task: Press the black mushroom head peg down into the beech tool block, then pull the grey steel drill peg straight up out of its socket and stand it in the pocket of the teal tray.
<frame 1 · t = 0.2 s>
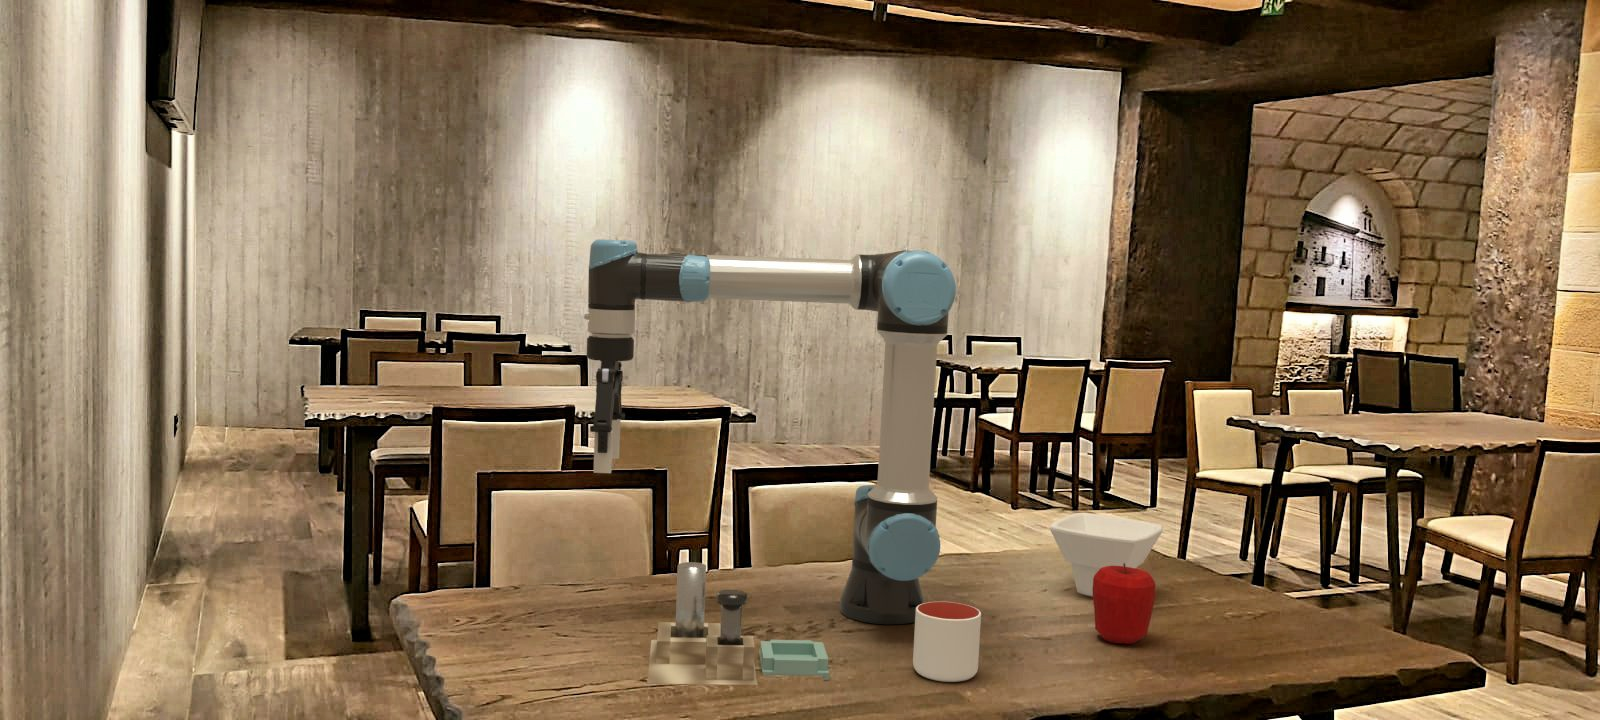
hand: (606, 465, 209), 28 cm above the table, fingers open, 13 cm apart
socket block: (698, 665, 197), on the table
cup: (944, 674, 198), on the table
bowl: (1102, 597, 247), on the table
apple: (1120, 641, 219), on the table
tray: (792, 668, 197), on the table
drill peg: (688, 653, 199), point 1 cm above the table, touching socket block
black mushroom head peg: (730, 624, 190), point 8 cm above the table, slide at 0.0 cm
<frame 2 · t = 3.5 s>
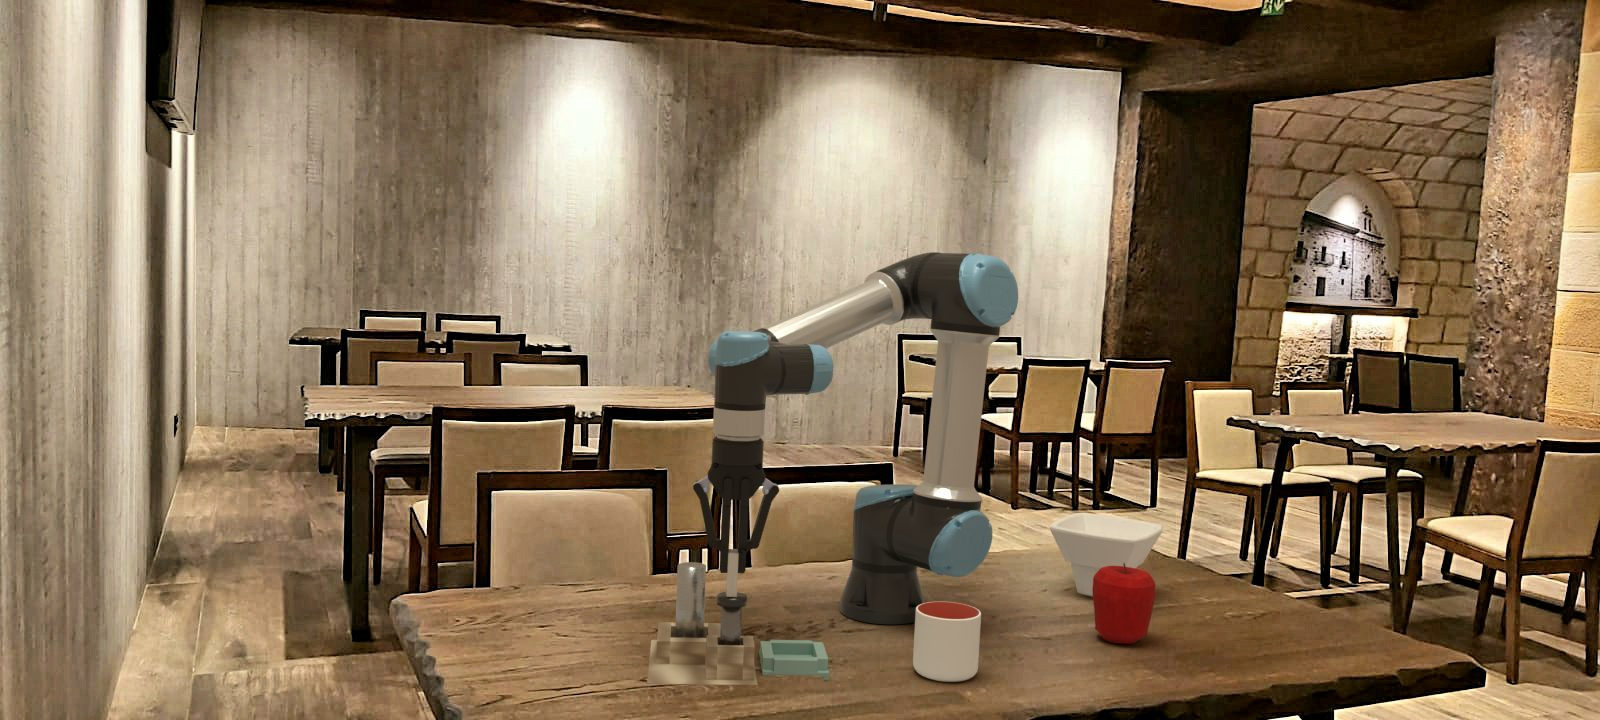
hand: (731, 594, 190), 13 cm above the table, fingers closed
black mushroom head peg: (730, 626, 190), point 8 cm above the table, slide at 0.3 cm, touching gripper
everything else where it was.
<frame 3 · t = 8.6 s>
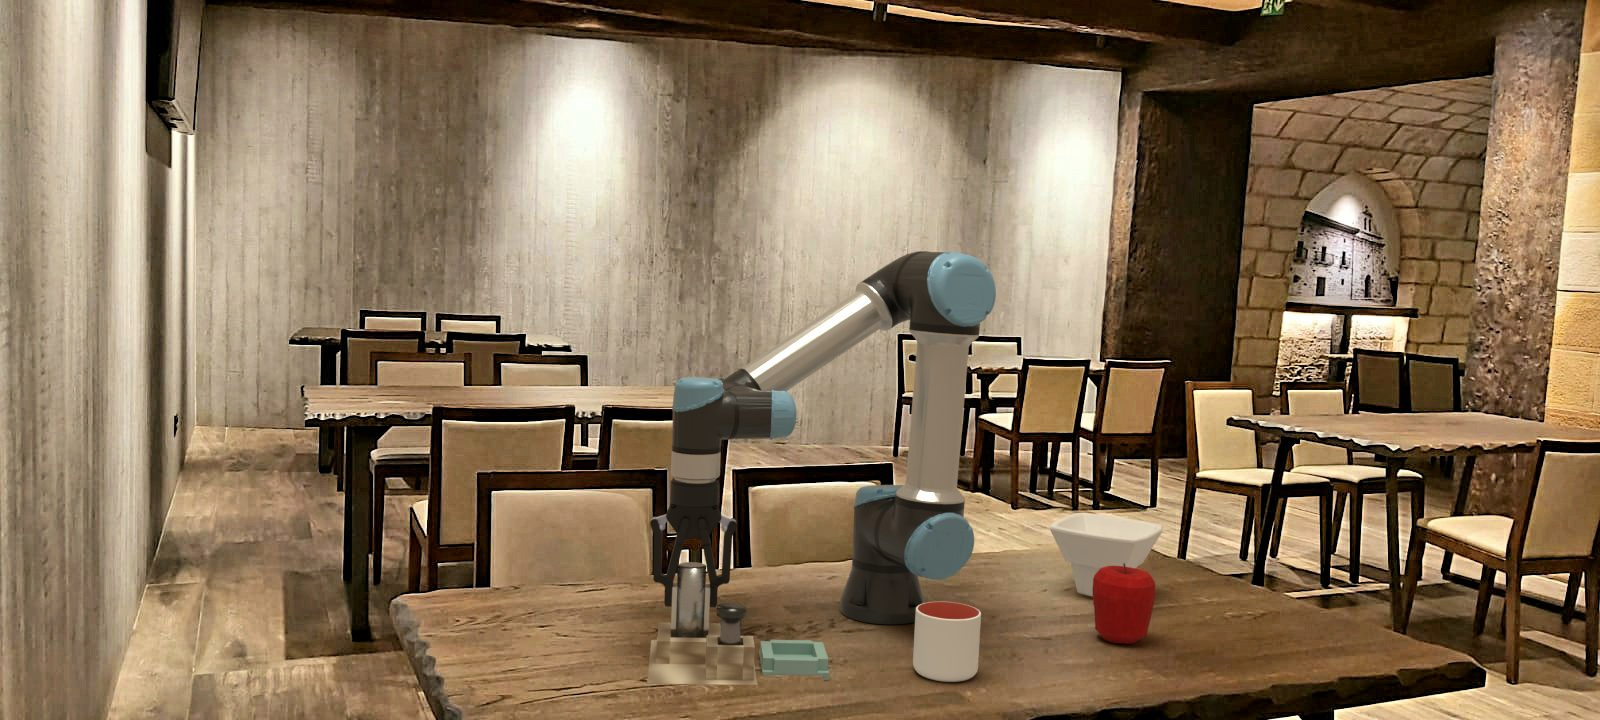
hand: (689, 626, 199), 5 cm above the table, fingers closed on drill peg, 4 cm apart
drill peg: (688, 653, 199), point 1 cm above the table, touching gripper, socket block
black mushroom head peg: (730, 637, 190), point 6 cm above the table, slide at 2.0 cm
everything else where it was.
when the fingers open (7 cm above the table, at t = 14.6 s): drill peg stays where it is, resting on tray.
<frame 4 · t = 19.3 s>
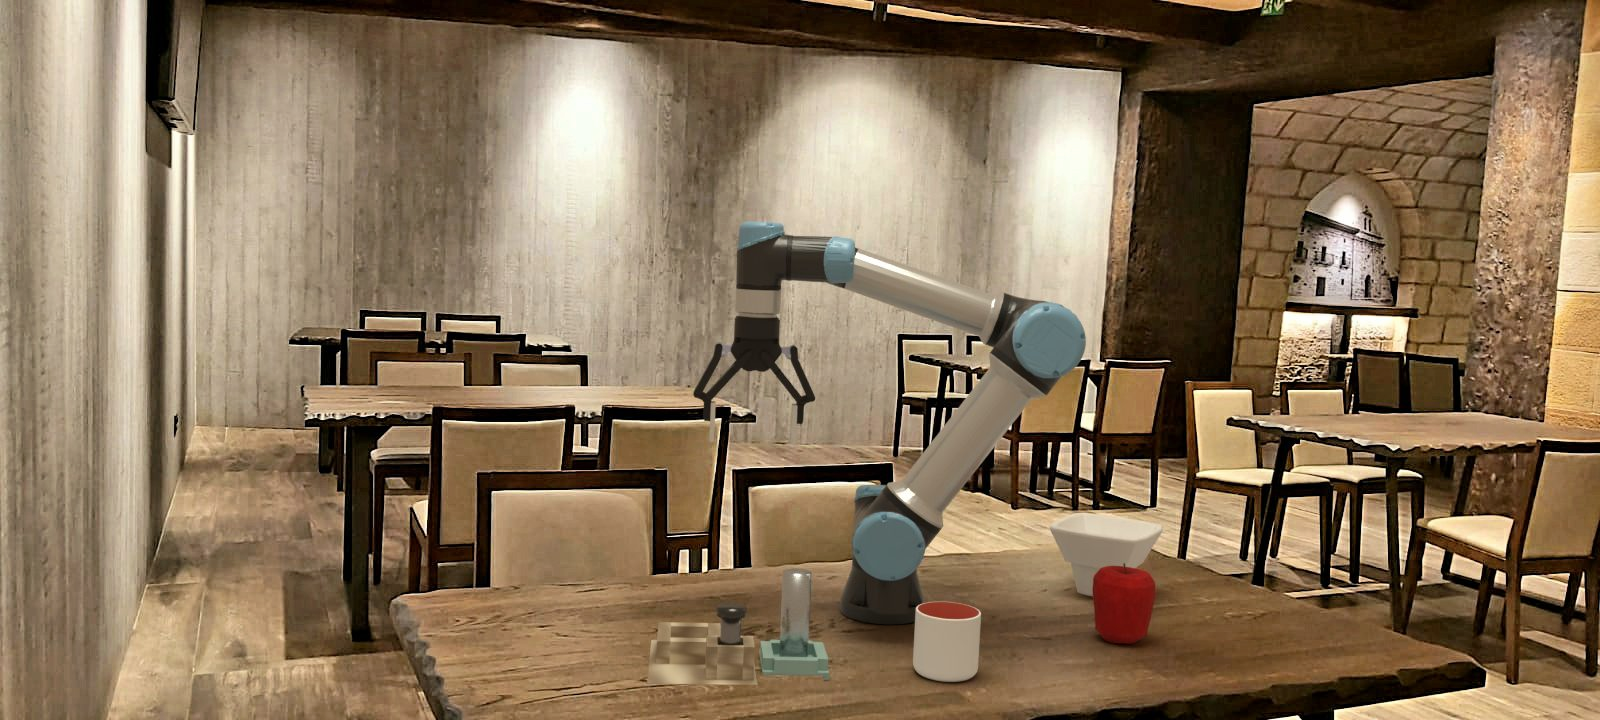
hand: (752, 442, 214), 32 cm above the table, fingers open, 13 cm apart
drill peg: (793, 661, 197), point 1 cm above the table, touching tray
everything else where it was.
at the end: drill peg 0.0 cm off-centre on the tray, point 1.2 cm above the tray's base; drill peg tilted 0°; black mushroom head peg slide at 2.0 cm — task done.
